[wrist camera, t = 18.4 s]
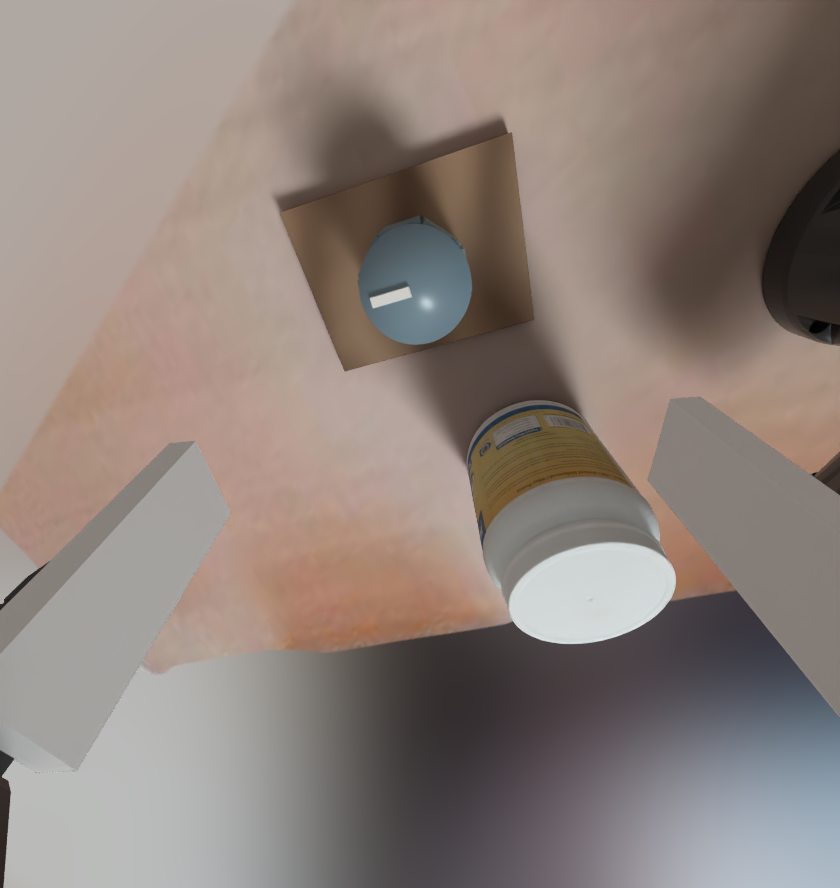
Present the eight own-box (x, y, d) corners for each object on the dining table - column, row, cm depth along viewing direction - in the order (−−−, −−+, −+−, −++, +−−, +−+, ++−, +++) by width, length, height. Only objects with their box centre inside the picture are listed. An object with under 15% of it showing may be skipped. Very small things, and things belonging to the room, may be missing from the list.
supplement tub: (439, 452, 38) (451, 603, 24) (537, 367, 34) (624, 492, 19) (517, 514, 43) (566, 671, 29) (613, 447, 38) (729, 596, 24)
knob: (449, 205, 26) (458, 207, 20) (469, 302, 30) (482, 329, 23) (358, 235, 27) (340, 246, 21) (387, 325, 31) (379, 358, 24)
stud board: (508, 134, 25) (529, 120, 20) (530, 316, 31) (550, 336, 27) (283, 212, 27) (256, 215, 23) (346, 367, 33) (334, 394, 29)
